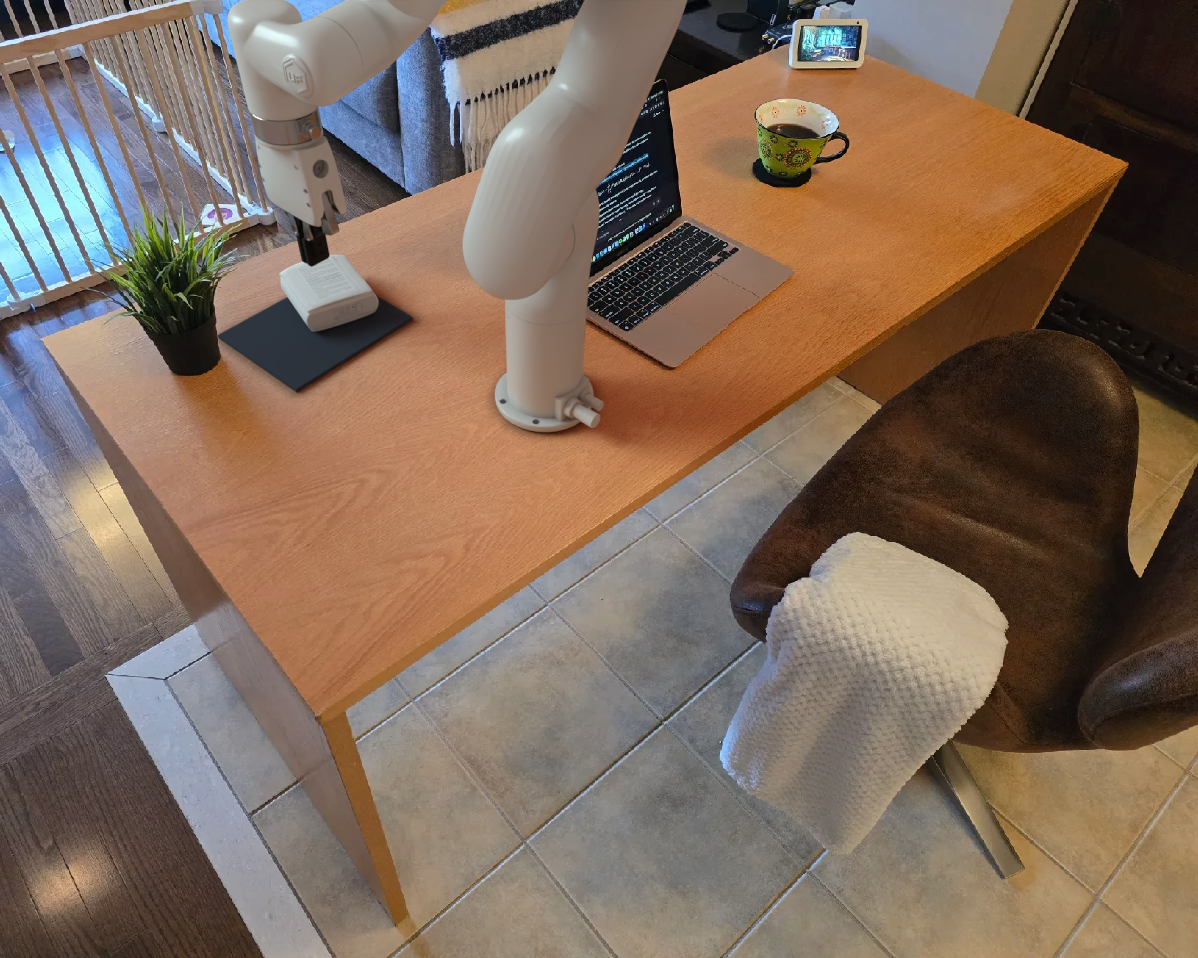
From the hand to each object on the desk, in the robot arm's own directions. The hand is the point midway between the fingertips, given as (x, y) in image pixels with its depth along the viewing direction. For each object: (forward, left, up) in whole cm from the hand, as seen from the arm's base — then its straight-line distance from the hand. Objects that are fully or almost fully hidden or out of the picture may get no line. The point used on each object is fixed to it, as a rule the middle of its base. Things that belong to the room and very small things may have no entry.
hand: (316, 259), depth 112 cm
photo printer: (-3, -1, -7) cm, 8 cm away
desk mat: (0, +2, -10) cm, 10 cm away
